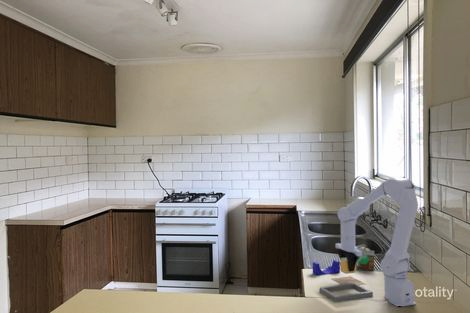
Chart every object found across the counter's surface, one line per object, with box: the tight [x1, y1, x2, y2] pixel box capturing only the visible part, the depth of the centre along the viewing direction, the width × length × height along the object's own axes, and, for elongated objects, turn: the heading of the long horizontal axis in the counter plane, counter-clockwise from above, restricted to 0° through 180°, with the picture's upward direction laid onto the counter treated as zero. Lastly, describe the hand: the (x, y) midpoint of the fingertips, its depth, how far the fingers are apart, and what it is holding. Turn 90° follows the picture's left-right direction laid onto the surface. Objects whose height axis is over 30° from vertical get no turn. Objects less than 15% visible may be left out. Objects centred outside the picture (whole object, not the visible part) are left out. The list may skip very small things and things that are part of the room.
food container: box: [356, 244, 376, 272], centre depth 159 cm, size 12×6×10 cm, turn 178°
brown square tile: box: [331, 275, 366, 286], centre depth 138 cm, size 10×10×1 cm
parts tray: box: [319, 283, 374, 303], centre depth 125 cm, size 10×16×2 cm, turn 109°
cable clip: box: [312, 259, 341, 276], centre depth 150 cm, size 12×4×6 cm, turn 108°
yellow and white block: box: [339, 257, 357, 275], centre depth 139 cm, size 4×5×6 cm
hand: (348, 269), depth 139 cm, fingers closed on yellow and white block, 3 cm apart
